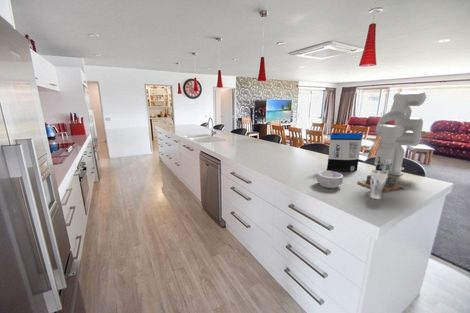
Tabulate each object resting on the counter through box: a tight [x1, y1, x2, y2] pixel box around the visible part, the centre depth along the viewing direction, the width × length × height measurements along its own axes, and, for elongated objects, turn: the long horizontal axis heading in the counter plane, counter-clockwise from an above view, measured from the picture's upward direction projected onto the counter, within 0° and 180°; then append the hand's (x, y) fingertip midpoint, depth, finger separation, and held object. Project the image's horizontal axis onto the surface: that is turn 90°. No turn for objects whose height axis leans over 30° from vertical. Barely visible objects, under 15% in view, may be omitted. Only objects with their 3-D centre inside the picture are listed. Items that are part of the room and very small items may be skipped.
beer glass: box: [368, 169, 387, 201], centre depth 116 cm, size 7×7×15 cm
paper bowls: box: [316, 170, 344, 189], centre depth 134 cm, size 15×15×8 cm
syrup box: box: [374, 159, 391, 179], centre depth 133 cm, size 6×6×14 cm
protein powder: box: [326, 132, 363, 173], centre depth 166 cm, size 10×24×30 cm, turn 90°
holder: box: [357, 174, 405, 193], centre depth 135 cm, size 20×16×6 cm
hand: (381, 173), depth 134 cm, fingers closed on syrup box, 6 cm apart
